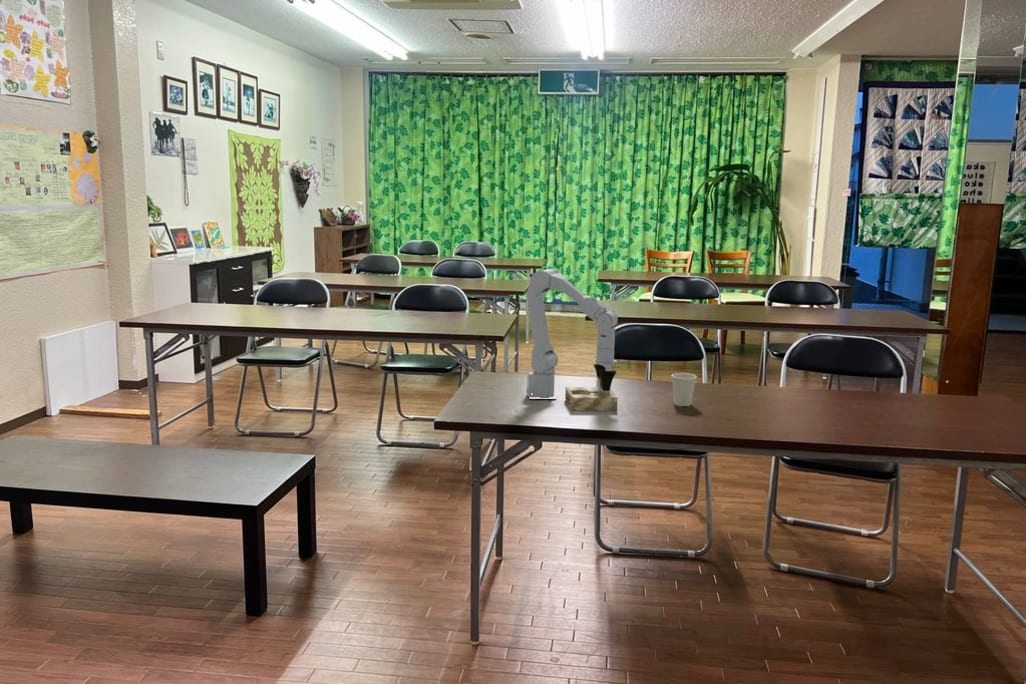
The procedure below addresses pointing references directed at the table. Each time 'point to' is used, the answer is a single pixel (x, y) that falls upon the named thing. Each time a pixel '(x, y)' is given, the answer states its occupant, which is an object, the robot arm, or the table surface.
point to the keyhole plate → (590, 399)
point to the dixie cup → (683, 388)
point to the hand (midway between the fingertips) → (603, 387)
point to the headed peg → (600, 386)
